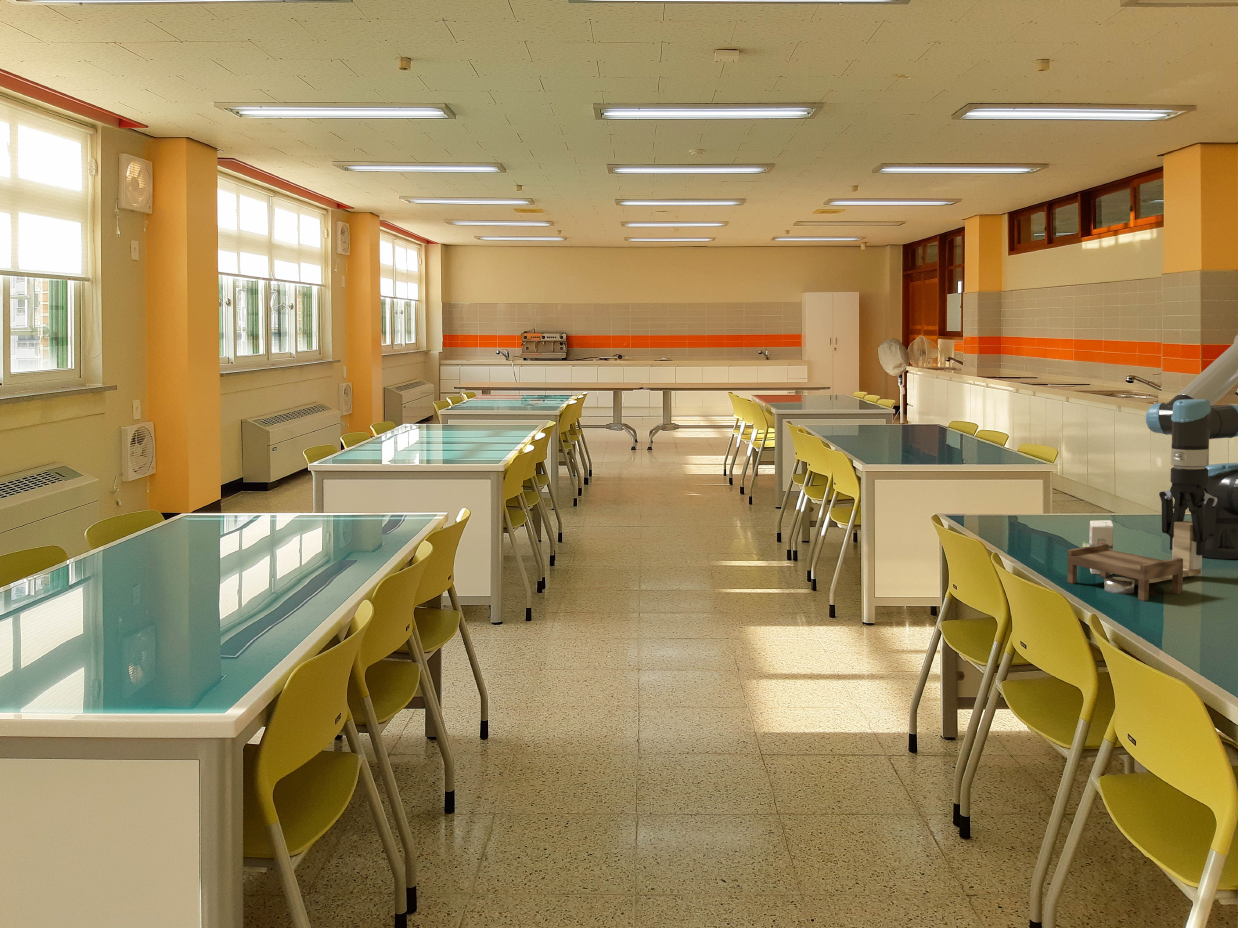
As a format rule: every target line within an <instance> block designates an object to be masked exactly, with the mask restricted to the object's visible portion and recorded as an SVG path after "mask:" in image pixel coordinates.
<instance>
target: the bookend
mask: <svg viewBox="0 0 1238 928" xmlns="http://www.w3.org/2000/svg"><path fill="white" fill-rule="evenodd" d="M1194 539H1195V536H1194V530H1193V524H1192V520H1184V521H1179V522H1174V546H1173V559H1176V558H1182V559H1183V578H1186V577H1192V576H1197V575H1201V570H1202V568H1200V569H1194V570H1193V569H1191V545H1192V541H1193V540H1194ZM1124 578H1129V579H1132V580H1134V585H1137V586H1138V579H1135V578H1131V577H1126V576H1124ZM1169 580H1172V575H1170V576H1165V577H1160V578H1155V579H1149V584H1153V583H1159V582H1162V581H1163V582H1165V581H1169Z"/></svg>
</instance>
